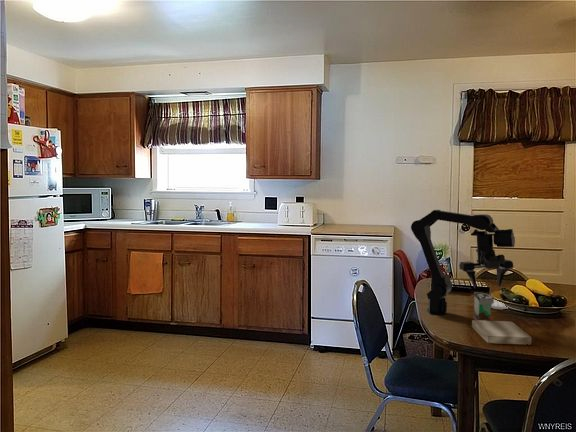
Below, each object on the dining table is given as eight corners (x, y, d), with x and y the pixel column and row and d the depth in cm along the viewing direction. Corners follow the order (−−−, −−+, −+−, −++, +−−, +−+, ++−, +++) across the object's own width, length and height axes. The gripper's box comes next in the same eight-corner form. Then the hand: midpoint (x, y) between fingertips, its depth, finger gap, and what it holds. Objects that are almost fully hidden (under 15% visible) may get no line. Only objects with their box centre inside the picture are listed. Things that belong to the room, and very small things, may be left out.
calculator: (473, 301, 217) (473, 296, 217) (521, 305, 211) (522, 300, 211) (475, 308, 205) (475, 304, 204) (526, 312, 198) (527, 308, 198)
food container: (496, 326, 178) (497, 300, 177) (479, 325, 179) (480, 299, 178) (489, 317, 190) (490, 292, 189) (473, 316, 191) (474, 291, 190)
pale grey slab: (487, 344, 159) (487, 335, 159) (471, 327, 177) (472, 320, 177) (531, 346, 158) (531, 337, 158) (510, 329, 176) (511, 321, 175)
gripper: (467, 250, 175) (470, 292, 176) (519, 247, 175) (521, 289, 175) (458, 247, 186) (460, 287, 187) (506, 245, 186) (507, 284, 186)
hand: (487, 287), depth 183 cm, fingers open, 9 cm apart
